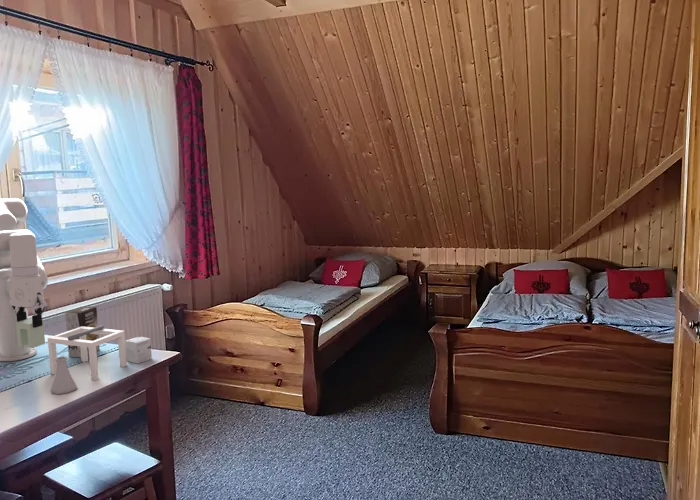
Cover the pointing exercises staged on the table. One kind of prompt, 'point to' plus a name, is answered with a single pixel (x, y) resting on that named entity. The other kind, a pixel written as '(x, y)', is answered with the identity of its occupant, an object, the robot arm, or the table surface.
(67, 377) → the flask
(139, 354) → the skincare box
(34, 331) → the slotted cream block
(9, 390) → the table surface
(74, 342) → the white square frame
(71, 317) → the coffee box
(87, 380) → the table surface
